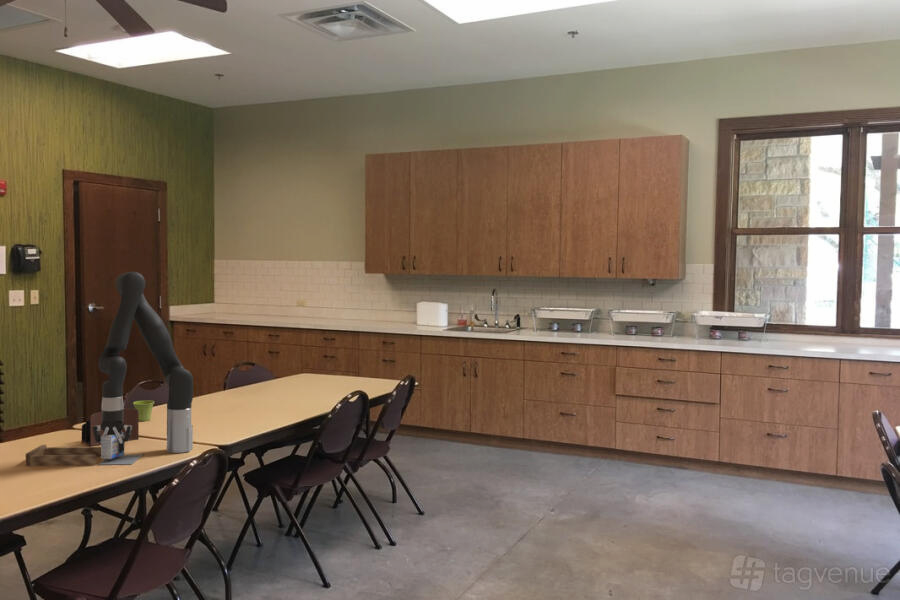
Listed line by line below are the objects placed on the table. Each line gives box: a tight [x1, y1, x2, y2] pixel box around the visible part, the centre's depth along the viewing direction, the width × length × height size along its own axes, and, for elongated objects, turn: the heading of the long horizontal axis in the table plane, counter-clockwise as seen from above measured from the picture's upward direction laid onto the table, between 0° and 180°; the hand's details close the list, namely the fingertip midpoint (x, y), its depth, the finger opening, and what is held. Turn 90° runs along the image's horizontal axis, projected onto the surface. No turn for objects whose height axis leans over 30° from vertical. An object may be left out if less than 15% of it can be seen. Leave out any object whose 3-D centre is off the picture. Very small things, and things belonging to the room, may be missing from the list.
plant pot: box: [132, 400, 155, 422], centre depth 352 cm, size 9×9×9 cm
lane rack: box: [25, 444, 101, 467], centre depth 277 cm, size 24×14×4 cm, turn 97°
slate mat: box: [97, 454, 144, 466], centre depth 279 cm, size 12×14×1 cm
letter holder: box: [81, 408, 140, 447], centre depth 309 cm, size 10×20×14 cm, turn 136°
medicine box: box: [100, 432, 125, 460], centre depth 279 cm, size 8×4×9 cm, turn 169°
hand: (112, 452), depth 279 cm, fingers closed on medicine box, 5 cm apart
